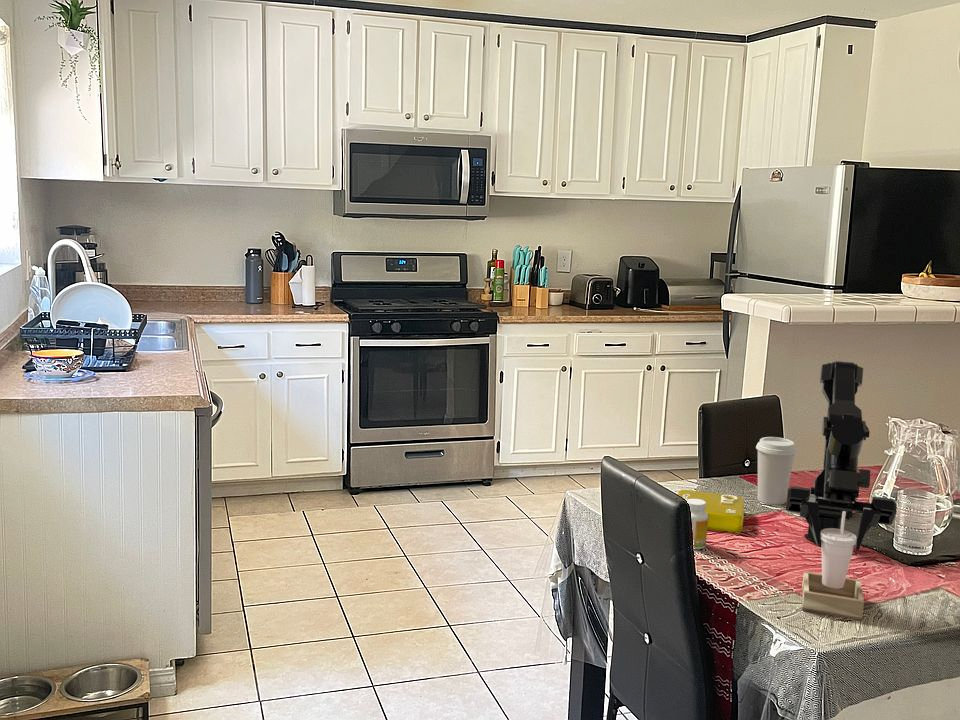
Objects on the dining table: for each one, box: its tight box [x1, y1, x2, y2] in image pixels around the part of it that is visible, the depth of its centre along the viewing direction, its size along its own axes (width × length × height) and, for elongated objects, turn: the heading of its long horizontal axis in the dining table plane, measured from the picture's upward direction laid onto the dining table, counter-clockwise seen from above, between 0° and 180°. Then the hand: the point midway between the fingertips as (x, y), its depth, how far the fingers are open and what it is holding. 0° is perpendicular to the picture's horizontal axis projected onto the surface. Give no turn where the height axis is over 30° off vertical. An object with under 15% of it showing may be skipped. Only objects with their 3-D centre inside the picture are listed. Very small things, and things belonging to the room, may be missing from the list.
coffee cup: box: [755, 436, 798, 506], centre depth 225 cm, size 10×10×15 cm
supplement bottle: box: [687, 499, 708, 550], centre depth 195 cm, size 5×5×10 cm
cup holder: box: [801, 570, 865, 621], centre depth 170 cm, size 10×10×4 cm
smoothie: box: [820, 511, 858, 589], centre depth 168 cm, size 6×6×14 cm
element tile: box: [677, 489, 745, 533], centre depth 212 cm, size 15×15×5 cm
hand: (837, 547), depth 167 cm, fingers closed on smoothie, 6 cm apart
